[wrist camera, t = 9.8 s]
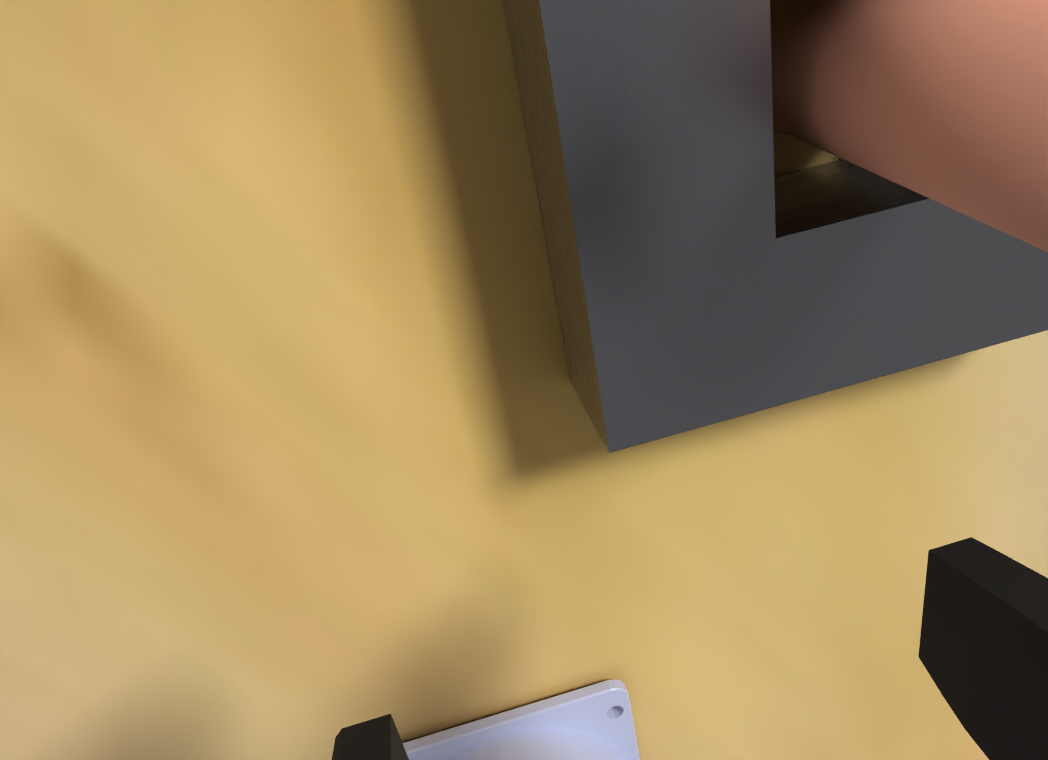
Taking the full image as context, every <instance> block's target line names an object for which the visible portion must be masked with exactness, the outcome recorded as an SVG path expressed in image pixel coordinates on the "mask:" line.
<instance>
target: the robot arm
mask: <svg viewBox="0 0 1048 760" xmlns="http://www.w3.org/2000/svg"><path fill="white" fill-rule="evenodd" d="M919 658H920V660H921V661H922V663H923V664H924V666H925V668H926V669H927V671H928V672H929V674H930V676H931V677H932V679H933V681H934V682H935V684H936V685H937V687H938V689H939V690H940V692H941V693H942V695H943V697H944V698H945V700H946V701H947V703H948V704H949V706H950V707H951V709H952V710H953V712H954V713H955V715H956V716H957V718H958V719H959V721H960V722H961V724H962V725H963V727H964V728H965V730H966V731H967V732H968V733H969V735H970V736H971V737H972V738H973V740H974V741H975V742H976V744H977V745H978V746H979V747H980V749H981V750H982V751H983V752H984V754H985V755H986V756H987V757H988V758H989V760H1048V578H1046V577H1044V576H1042V575H1041V574H1039V573H1037V572H1035V571H1033V570H1031V569H1030V568H1028V567H1026V566H1024V565H1022V564H1020V563H1019V562H1017V561H1015V560H1013V559H1011V558H1009V557H1008V556H1006V555H1004V554H1002V553H1000V552H998V551H996V550H995V549H993V548H991V547H989V546H987V545H985V544H983V543H981V542H979V541H977V540H975V539H973V538H968V539H964V540H961V541H958V542H955V543H951V544H948V545H945V546H941V547H938V548H935V549H932V550H929V553H928V564H927V574H926V585H925V595H924V606H923V616H922V627H921V637H920V648H919ZM332 760H640V757H639V751H638V745H637V739H636V733H635V728H634V722H633V716H632V710H631V704H630V699H629V694H628V691H627V689H626V687H625V685H624V683H623V682H621V681H620V680H614V679H612V680H606V681H603V682H600V683H597V684H593V685H590V686H587V687H584V688H580V689H577V690H574V691H571V692H567V693H564V694H561V695H558V696H554V697H551V698H548V699H545V700H541V701H538V702H535V703H532V704H528V705H525V706H522V707H519V708H515V709H512V710H509V711H506V712H502V713H499V714H496V715H493V716H489V717H486V718H483V719H480V720H476V721H473V722H470V723H467V724H463V725H460V726H457V727H454V728H450V729H447V730H444V731H441V732H437V733H434V734H431V735H428V736H424V737H421V738H418V739H415V740H411V741H408V742H405V743H402V741H401V738H400V736H399V733H398V731H397V728H396V726H395V723H394V721H393V718H392V716H391V714H389V715H385V716H382V717H379V718H375V719H372V720H369V721H366V722H362V723H359V724H356V725H352V726H349V727H346V728H342V729H341V731H340V732H339V734H338V735H337V736H336V738H335V744H334V750H333V756H332Z"/></svg>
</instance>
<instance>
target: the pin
mask: <svg viewBox="0 0 1048 760" xmlns="http://www.w3.org/2000/svg"><path fill="white" fill-rule="evenodd" d="M770 23H771V64H772V105H773V127H774V128H776V129H778V130H780V131H783V132H785V133H787V134H789V135H791V136H793V137H796V138H798V139H800V140H802V141H804V142H807V143H809V144H811V145H813V146H815V147H818V148H820V149H822V150H824V151H826V152H829V153H831V154H833V155H835V156H837V157H840V158H842V159H844V160H846V161H848V162H851V163H853V164H855V165H857V166H859V167H862V168H864V169H866V170H868V171H870V172H873V173H875V174H877V175H879V176H881V177H884V178H886V179H888V180H890V181H892V182H895V183H897V184H899V185H901V186H903V187H905V188H908V189H910V190H912V191H914V192H916V193H919V194H921V195H923V196H925V197H927V198H930V199H932V200H934V201H936V202H938V203H941V204H943V205H945V206H947V207H949V208H952V209H954V210H956V211H958V212H960V213H963V214H965V215H967V216H969V217H971V218H974V219H976V220H978V221H980V222H982V223H985V224H987V225H989V226H991V227H993V228H996V229H998V230H1000V231H1002V232H1004V233H1007V234H1009V235H1011V236H1013V237H1015V238H1017V239H1020V240H1022V241H1024V242H1026V243H1028V244H1031V245H1033V246H1035V247H1037V248H1039V249H1042V250H1044V251H1046V252H1048V0H770Z"/></svg>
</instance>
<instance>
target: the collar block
mask: <svg viewBox="0 0 1048 760" xmlns="http://www.w3.org/2000/svg"><path fill="white" fill-rule="evenodd" d="M504 4H505V10H506V16H507V21H508V27H509V33H510V38H511V44H512V50H513V56H514V61H515V67H516V73H517V78H518V84H519V90H520V96H521V101H522V107H523V113H524V118H525V124H526V130H527V136H528V141H529V147H530V153H531V158H532V164H533V170H534V175H535V181H536V187H537V193H538V198H539V204H540V210H541V215H542V221H543V227H544V233H545V238H546V244H547V250H548V255H549V261H550V267H551V272H552V278H553V284H554V290H555V295H556V301H557V307H558V312H559V318H560V324H561V330H562V335H563V341H564V347H565V352H566V358H567V364H568V369H569V375H570V381H571V384H572V386H573V387H574V389H575V391H576V393H577V395H578V397H579V398H580V400H581V402H582V404H583V406H584V408H585V409H586V411H587V413H588V415H589V417H590V418H591V420H592V422H593V424H594V426H595V428H596V429H597V431H598V433H599V435H600V437H601V438H602V440H603V442H604V444H605V446H606V448H607V449H608V451H609V453H611V452H614V451H618V450H621V449H625V448H628V447H632V446H636V445H639V444H643V443H646V442H650V441H653V440H657V439H660V438H664V437H668V436H671V435H675V434H678V433H682V432H685V431H689V430H693V429H696V428H700V427H703V426H707V425H710V424H714V423H718V422H721V421H725V420H728V419H732V418H735V417H739V416H743V415H746V414H750V413H753V412H757V411H760V410H764V409H767V408H771V407H775V406H778V405H782V404H785V403H789V402H792V401H796V400H800V399H803V398H807V397H810V396H814V395H817V394H821V393H825V392H828V391H832V390H835V389H839V388H842V387H846V386H850V385H853V384H857V383H860V382H864V381H867V380H871V379H875V378H878V377H882V376H885V375H889V374H892V373H896V372H899V371H903V370H907V369H910V368H914V367H917V366H921V365H924V364H928V363H932V362H935V361H939V360H942V359H946V358H949V357H953V356H957V355H960V354H964V353H967V352H971V351H974V350H978V349H982V348H985V347H989V346H992V345H996V344H999V343H1003V342H1007V341H1010V340H1014V339H1017V338H1021V337H1024V336H1028V335H1031V334H1035V333H1039V332H1042V331H1046V330H1048V252H1046V251H1044V250H1042V249H1039V248H1037V247H1035V246H1033V245H1031V244H1028V243H1026V242H1024V241H1022V240H1020V239H1017V238H1015V237H1013V236H1011V235H1009V234H1007V233H1004V232H1002V231H1000V230H998V229H996V228H993V227H991V226H989V225H987V224H985V223H982V222H980V221H978V220H976V219H974V218H971V217H969V216H967V215H965V214H963V213H960V212H958V211H956V210H954V209H952V208H949V207H947V206H945V205H943V204H941V203H938V202H936V201H934V200H932V199H930V198H927V197H925V196H923V195H921V194H919V193H916V192H914V191H912V190H910V189H908V188H905V187H903V186H901V185H899V184H897V183H895V182H892V181H890V180H888V179H886V178H884V177H881V176H879V175H877V174H875V173H873V172H870V171H868V170H866V169H864V168H862V167H859V166H857V165H855V164H853V163H851V162H848V161H846V160H844V159H843V160H839V161H835V162H831V163H827V164H823V165H819V166H815V167H811V168H807V169H803V170H799V171H795V172H791V173H787V174H783V175H779V176H775V177H774V146H773V105H772V64H771V23H770V0H504Z"/></svg>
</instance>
